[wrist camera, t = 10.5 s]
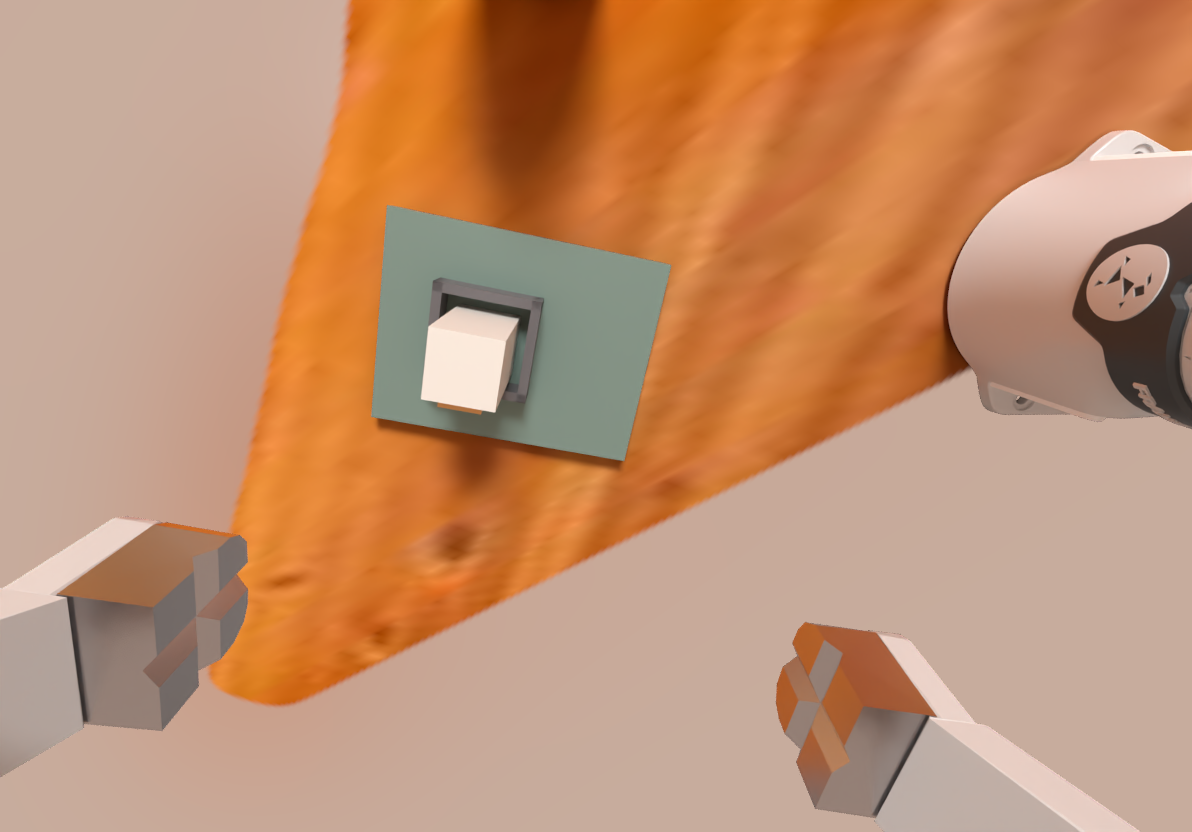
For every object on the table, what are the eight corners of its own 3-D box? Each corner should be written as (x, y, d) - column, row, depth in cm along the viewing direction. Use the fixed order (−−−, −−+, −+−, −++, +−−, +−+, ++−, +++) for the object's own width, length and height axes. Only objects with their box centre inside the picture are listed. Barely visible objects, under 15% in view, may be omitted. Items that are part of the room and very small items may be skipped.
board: (668, 263, 37) (676, 268, 34) (622, 454, 41) (626, 473, 38) (393, 205, 35) (375, 204, 32) (377, 411, 39) (360, 427, 36)
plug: (521, 315, 36) (505, 341, 29) (510, 380, 38) (493, 420, 30) (459, 303, 36) (428, 326, 28) (451, 369, 37) (419, 407, 30)
